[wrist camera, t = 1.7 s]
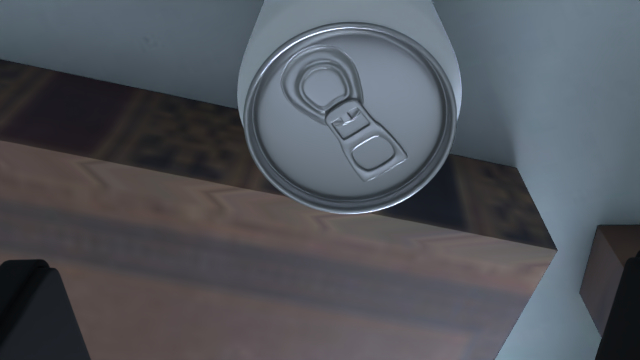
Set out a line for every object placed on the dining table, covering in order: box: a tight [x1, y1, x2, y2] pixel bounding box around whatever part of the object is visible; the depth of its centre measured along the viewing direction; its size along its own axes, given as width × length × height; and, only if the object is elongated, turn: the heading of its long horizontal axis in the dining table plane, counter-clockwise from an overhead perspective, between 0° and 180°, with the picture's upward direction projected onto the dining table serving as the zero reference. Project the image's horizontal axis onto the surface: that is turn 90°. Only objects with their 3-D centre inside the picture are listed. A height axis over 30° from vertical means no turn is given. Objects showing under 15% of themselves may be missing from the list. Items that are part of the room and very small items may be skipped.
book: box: [0, 60, 558, 360], centre depth 32 cm, size 24×28×7 cm
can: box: [237, 0, 462, 214], centre depth 20 cm, size 6×6×12 cm
